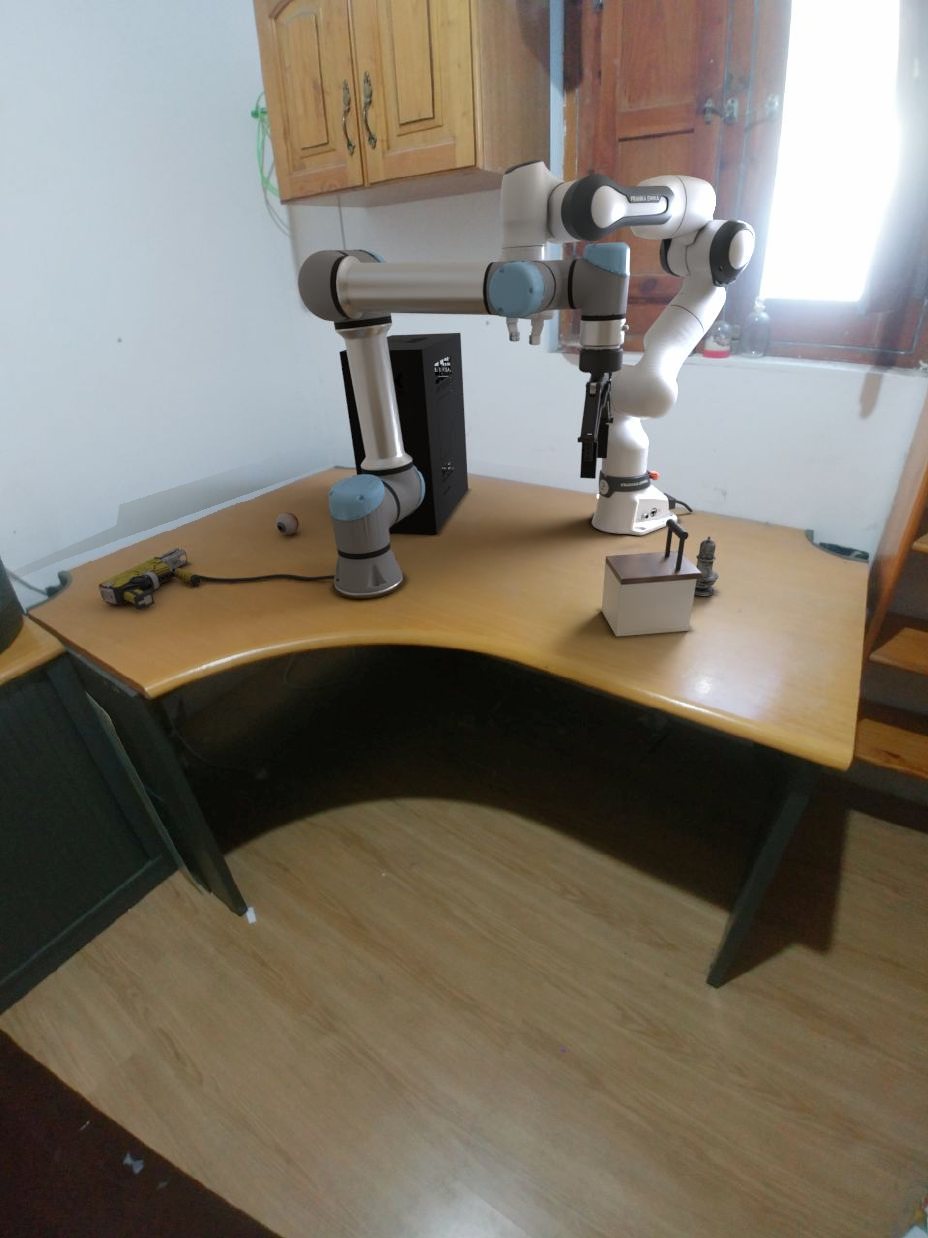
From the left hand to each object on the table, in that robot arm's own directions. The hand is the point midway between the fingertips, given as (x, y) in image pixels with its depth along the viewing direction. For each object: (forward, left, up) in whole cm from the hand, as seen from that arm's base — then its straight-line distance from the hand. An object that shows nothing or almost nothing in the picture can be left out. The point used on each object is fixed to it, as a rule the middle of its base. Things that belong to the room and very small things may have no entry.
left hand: (594, 467), depth 116 cm
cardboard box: (-56, +37, -26) cm, 72 cm away
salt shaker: (+23, +5, -26) cm, 35 cm away
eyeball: (-84, +11, -26) cm, 88 cm away
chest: (+13, -10, -26) cm, 31 cm away
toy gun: (-93, -24, -26) cm, 100 cm away
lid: (+13, -10, -15) cm, 23 cm away
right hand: (-18, +15, +20) cm, 31 cm away
